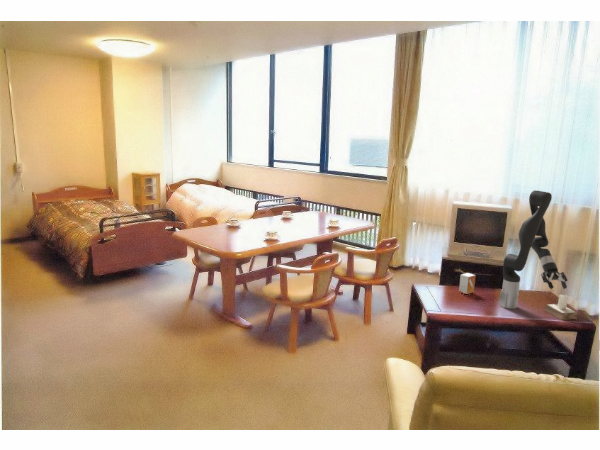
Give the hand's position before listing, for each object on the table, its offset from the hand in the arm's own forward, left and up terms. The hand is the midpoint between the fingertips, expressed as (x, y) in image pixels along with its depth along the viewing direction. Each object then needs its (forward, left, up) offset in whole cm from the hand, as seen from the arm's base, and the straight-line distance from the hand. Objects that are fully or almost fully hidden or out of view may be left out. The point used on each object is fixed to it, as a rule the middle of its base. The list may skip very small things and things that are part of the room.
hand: (558, 288), depth 258 cm
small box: (-39, +36, -15) cm, 55 cm away
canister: (0, -4, -11) cm, 12 cm away
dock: (0, -5, -15) cm, 16 cm away
